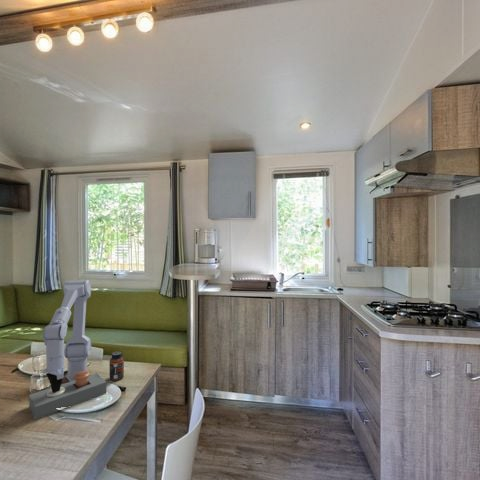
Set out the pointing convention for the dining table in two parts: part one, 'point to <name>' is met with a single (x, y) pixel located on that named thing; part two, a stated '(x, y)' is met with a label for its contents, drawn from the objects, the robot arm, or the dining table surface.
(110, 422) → the dining table surface
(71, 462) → the dining table surface
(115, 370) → the supplement bottle
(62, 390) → the plunger
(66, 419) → the dining table surface
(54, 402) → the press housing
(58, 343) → the robot arm
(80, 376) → the terracotta plunger
